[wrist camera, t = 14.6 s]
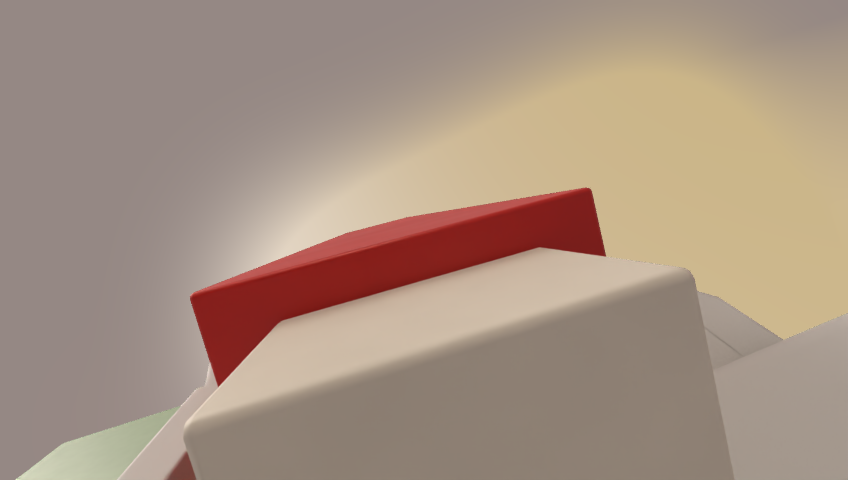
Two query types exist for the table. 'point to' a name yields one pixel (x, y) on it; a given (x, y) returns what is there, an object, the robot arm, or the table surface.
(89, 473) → the stand
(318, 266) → the long red beam
